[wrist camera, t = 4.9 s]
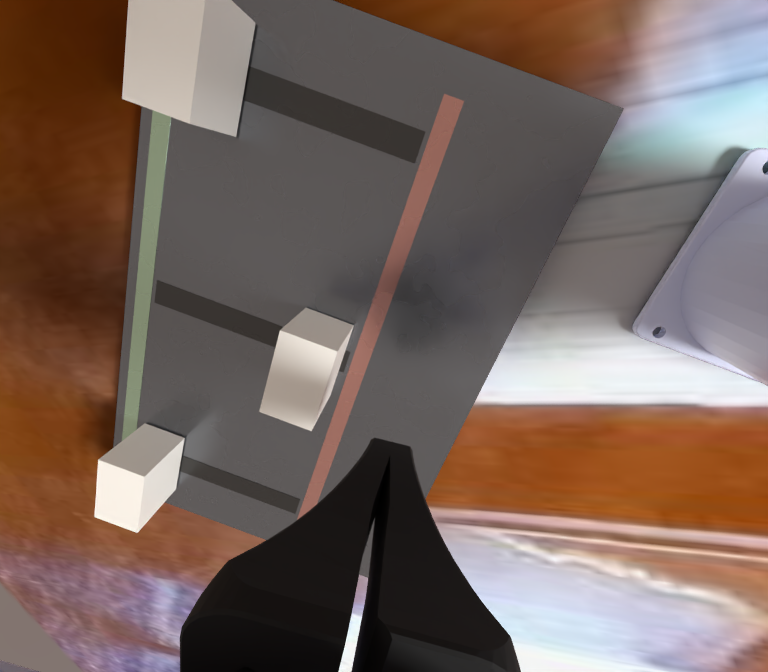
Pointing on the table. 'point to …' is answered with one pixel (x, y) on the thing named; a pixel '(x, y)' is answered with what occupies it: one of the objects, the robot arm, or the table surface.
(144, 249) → the panel
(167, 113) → the breaker
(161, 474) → the block
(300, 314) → the breaker mid
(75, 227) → the table surface
